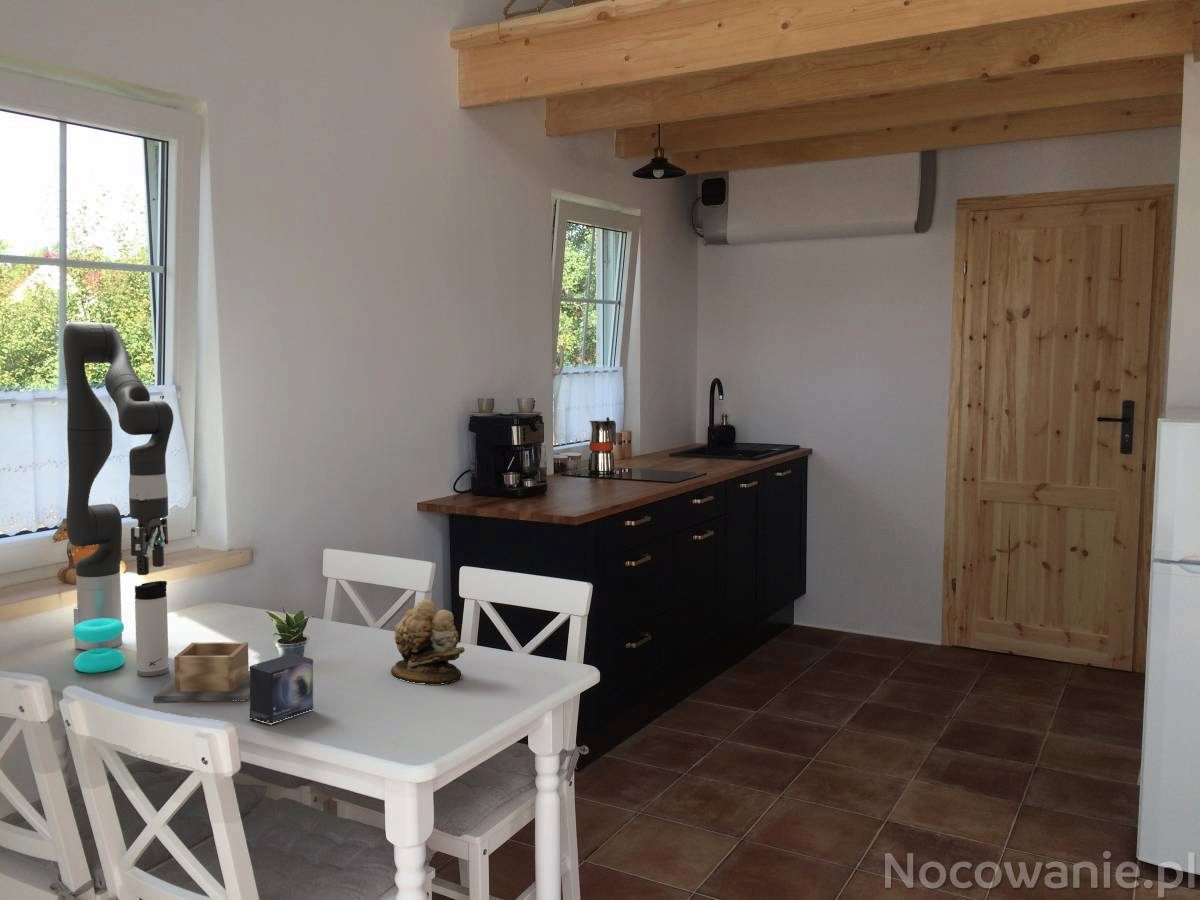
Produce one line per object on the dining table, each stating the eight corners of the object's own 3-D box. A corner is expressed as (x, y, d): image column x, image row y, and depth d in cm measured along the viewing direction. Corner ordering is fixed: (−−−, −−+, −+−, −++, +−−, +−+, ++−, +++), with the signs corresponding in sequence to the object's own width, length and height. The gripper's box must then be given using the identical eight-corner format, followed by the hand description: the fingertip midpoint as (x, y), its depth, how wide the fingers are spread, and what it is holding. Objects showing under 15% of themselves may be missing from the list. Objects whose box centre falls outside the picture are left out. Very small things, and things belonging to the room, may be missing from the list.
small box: (271, 727, 188) (270, 671, 187) (248, 720, 191) (247, 665, 190) (315, 710, 197) (314, 657, 196) (292, 704, 200) (291, 652, 199)
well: (153, 702, 200) (152, 661, 200) (181, 676, 216) (181, 638, 216) (246, 701, 201) (245, 660, 201) (267, 676, 217) (267, 638, 217)
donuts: (86, 616, 226) (131, 617, 226) (88, 660, 227) (133, 660, 227) (63, 628, 216) (110, 628, 216) (65, 674, 217) (111, 674, 217)
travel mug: (158, 678, 215) (155, 585, 213) (130, 675, 216) (127, 583, 215) (176, 669, 221) (173, 579, 219) (149, 667, 223) (146, 577, 221)
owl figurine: (478, 675, 220) (478, 598, 219) (445, 691, 210) (445, 610, 208) (411, 662, 229) (411, 588, 227) (377, 676, 218) (376, 599, 217)
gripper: (143, 491, 222) (145, 564, 224) (116, 499, 208) (119, 577, 210) (178, 491, 223) (180, 564, 224) (154, 499, 209) (156, 577, 210)
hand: (150, 570), depth 217 cm, fingers open, 8 cm apart
